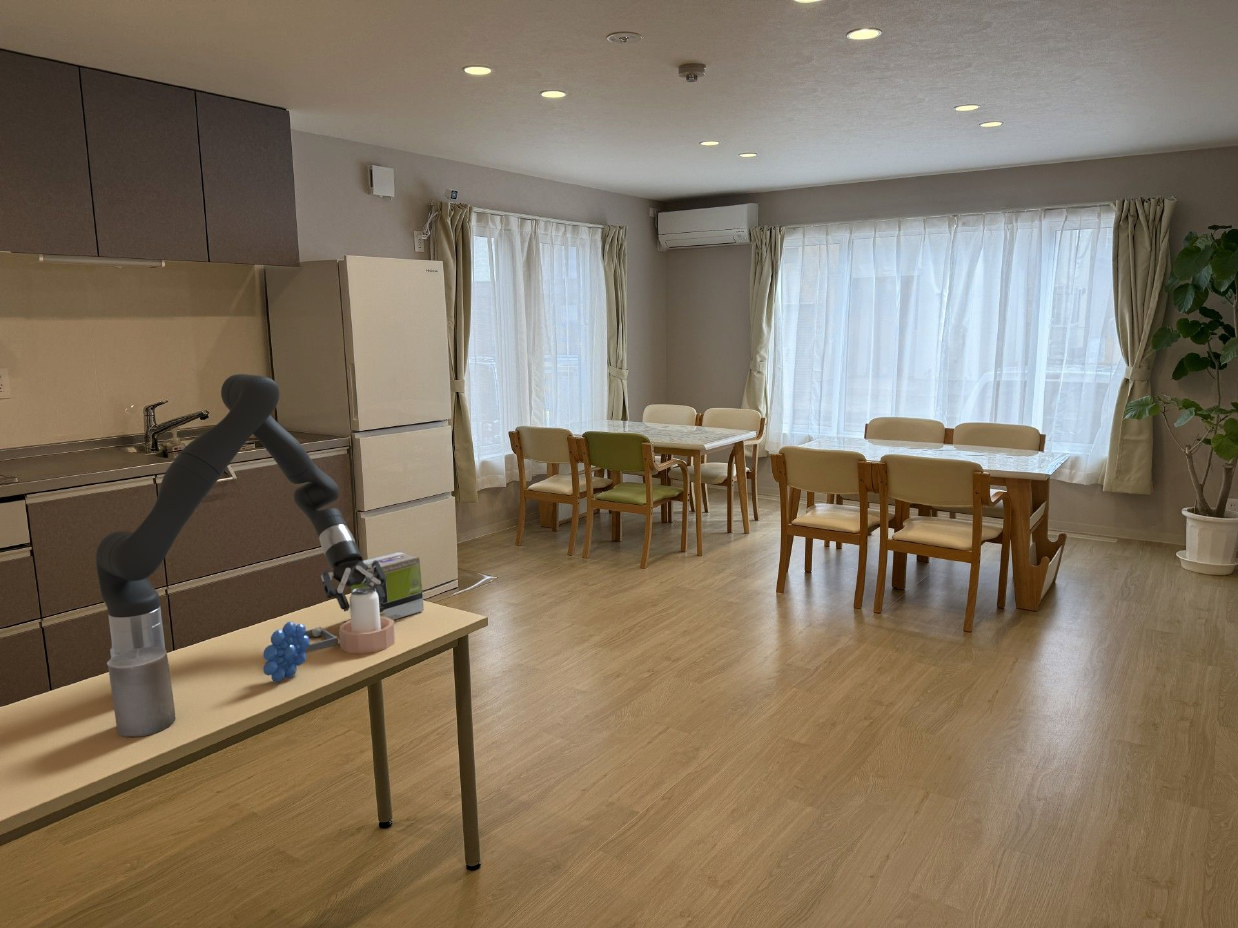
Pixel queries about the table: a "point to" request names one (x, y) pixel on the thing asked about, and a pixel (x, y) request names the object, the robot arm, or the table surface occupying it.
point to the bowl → (367, 637)
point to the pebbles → (316, 632)
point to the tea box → (399, 585)
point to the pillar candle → (141, 691)
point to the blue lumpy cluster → (286, 651)
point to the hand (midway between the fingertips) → (365, 605)
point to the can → (364, 610)
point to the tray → (322, 644)
